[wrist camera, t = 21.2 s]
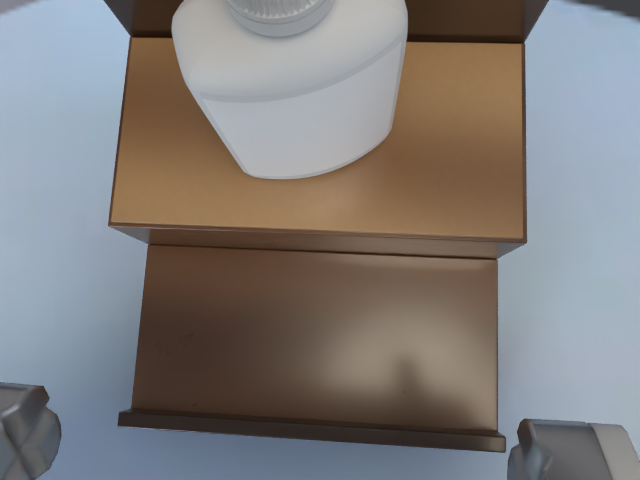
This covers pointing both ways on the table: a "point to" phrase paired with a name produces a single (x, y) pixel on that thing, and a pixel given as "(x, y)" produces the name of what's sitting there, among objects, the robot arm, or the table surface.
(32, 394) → the robot arm
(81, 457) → the table surface
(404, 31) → the eye dropper bottle
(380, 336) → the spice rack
